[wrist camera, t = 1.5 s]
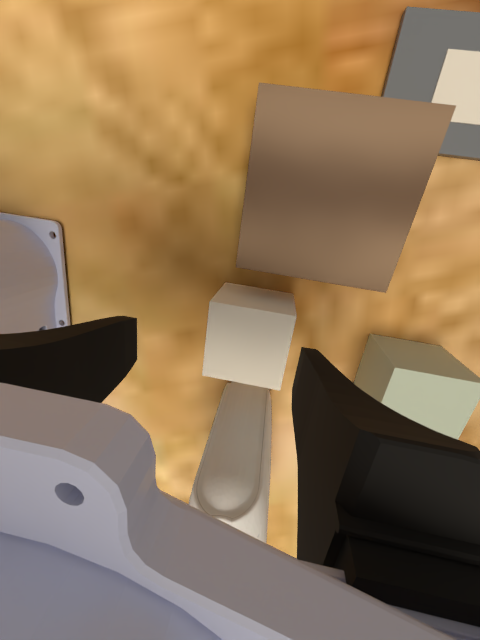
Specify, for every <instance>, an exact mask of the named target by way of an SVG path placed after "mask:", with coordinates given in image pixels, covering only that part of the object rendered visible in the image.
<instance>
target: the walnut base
mask: <svg viewBox="0 0 480 640" xmlns="http://www.w3.org/2000/svg"><path fill="white" fill-rule="evenodd" d="M455 108H456V105H447V104H439V103H430V102H421V101H413V100H404V99H395V98H387V97H378V96H370V95H361V94H352V93H344V92H335V91H327V90H318V89H309V88H301V87H292V86H284V85H275V84H266V83H259V87H258V95H257V103H256V111H255V119H254V127H253V135H252V143H251V150H250V158H249V166H248V174H247V182H246V190H245V198H244V206H243V214H242V221H241V229H240V237H239V245H238V253H237V261H236V267H238V268H243V269H249V270H255V271H261V272H267V273H273V274H279V275H285V276H291V277H296V278H302V279H308V280H314V281H320V282H326V283H332V284H338V285H344V286H349V287H355V288H361V289H367V290H373V291H379V292H385V293H386V291H387V289H388V286H389V283H390V281H391V278H392V275H393V273H394V270H395V267H396V265H397V262H398V260H399V257H400V254H401V252H402V249H403V246H404V244H405V241H406V238H407V236H408V233H409V230H410V228H411V225H412V222H413V220H414V217H415V214H416V212H417V209H418V206H419V204H420V201H421V198H422V196H423V193H424V190H425V188H426V185H427V182H428V180H429V177H430V174H431V172H432V169H433V167H434V164H435V161H436V159H437V156H438V153H439V151H440V148H441V145H442V143H443V140H444V137H445V135H446V132H447V129H448V127H449V124H450V121H451V119H452V116H453V113H454V111H455Z"/></svg>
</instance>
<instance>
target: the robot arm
mask: <svg viewBox="0 0 480 640" xmlns="http://www.w3.org/2000/svg"><path fill="white" fill-rule="evenodd" d="M53 233H55V234H56V238H55V237H54V235H53ZM62 321H64V323H65V324H64V323H63V322H62ZM136 360H137V318H133V317H127V316H116V317H109V318H104V319H99V320H94V321H89V322H85V323H80V324H75V325H70V314H69V303H68V292H67V281H66V270H65V259H64V248H63V237H62V228H61V225H60V224H59V223H58V222H57V221H54V220H47V219H41V218H35V217H28V216H22V215H15V214H9V213H3V212H0V640H480V451H479V449H478V448H477V447H475V446H473V445H470V444H467V443H465V442H462V441H460V440H457V439H455V438H452V437H449V436H447V435H444V434H442V433H439V432H437V431H435V430H432V429H430V428H428V427H426V426H424V425H421V424H419V423H417V422H415V421H413V420H411V419H409V418H407V417H405V416H403V415H401V414H399V413H398V412H396V411H394V410H392V409H391V408H389V407H387V406H385V405H384V404H382V403H380V402H379V401H377V400H376V399H374V398H373V397H371V396H370V395H368V394H367V393H366V392H364V391H363V390H361V389H360V388H359V387H357V386H356V385H355V384H354V383H352V382H351V381H350V380H349V379H348V378H346V377H345V376H344V375H343V374H342V373H341V372H340V371H339V370H338V369H337V368H336V367H334V366H333V365H332V364H331V363H330V362H329V361H328V360H327V359H326V358H325V357H324V356H323V355H322V354H321V353H320V352H319V351H318V350H316V349H310V348H304V347H302V348H301V353H300V357H299V361H298V366H297V370H296V375H295V379H294V383H293V388H292V416H293V425H294V433H295V442H296V451H297V462H298V533H297V559H296V558H294V557H292V556H290V555H288V554H286V553H284V552H282V551H280V550H278V549H276V548H274V547H272V546H270V545H268V544H266V543H264V542H262V541H260V540H258V539H256V538H254V537H252V536H250V535H248V534H246V533H245V532H243V531H241V530H239V529H237V528H235V527H233V526H231V525H229V524H227V523H225V522H223V521H221V520H219V519H217V518H215V517H213V516H211V515H209V514H207V513H205V512H203V511H201V510H199V509H197V508H195V507H193V506H191V505H189V504H187V503H185V502H183V501H181V500H179V499H177V498H175V497H173V496H171V495H169V494H167V493H165V492H163V491H161V490H160V489H159V488H158V487H157V485H156V479H155V464H156V455H155V452H154V448H153V445H152V441H151V438H150V435H149V433H148V432H147V431H146V430H145V429H144V428H143V427H142V426H141V425H140V424H139V423H138V421H137V420H136V419H135V418H134V417H133V416H132V415H130V414H128V413H126V412H124V411H121V410H119V409H117V408H114V407H112V406H110V405H107V404H103V403H102V401H103V400H104V399H105V398H106V397H107V396H108V395H109V394H110V393H111V392H112V391H113V390H114V389H115V388H116V387H117V385H118V384H119V383H120V382H121V381H122V380H123V379H124V378H125V377H126V375H127V374H128V372H129V371H130V370H131V368H132V367H133V365H134V363H135V362H136Z"/></svg>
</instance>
